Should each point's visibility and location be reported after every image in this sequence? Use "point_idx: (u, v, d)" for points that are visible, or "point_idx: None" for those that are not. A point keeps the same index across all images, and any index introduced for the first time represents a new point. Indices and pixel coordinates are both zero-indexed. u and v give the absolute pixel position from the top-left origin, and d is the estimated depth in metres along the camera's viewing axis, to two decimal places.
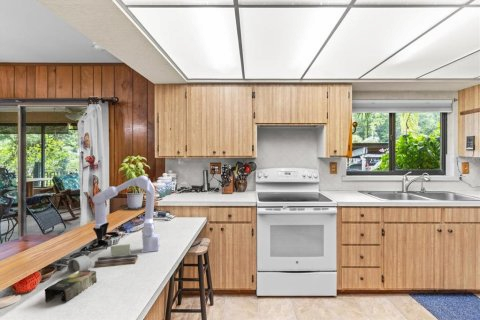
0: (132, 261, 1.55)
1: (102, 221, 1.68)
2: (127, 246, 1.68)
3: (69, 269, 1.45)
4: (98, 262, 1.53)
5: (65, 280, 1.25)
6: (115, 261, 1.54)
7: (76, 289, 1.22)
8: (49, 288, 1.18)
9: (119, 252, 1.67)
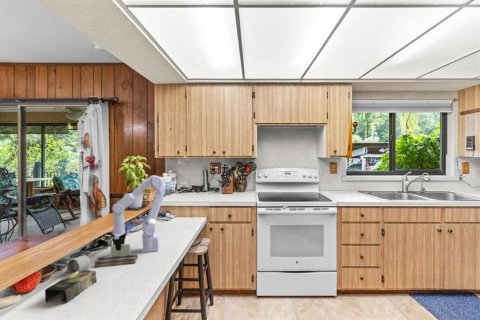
0: (132, 261, 1.55)
1: (121, 232, 1.66)
2: (127, 246, 1.68)
3: (69, 269, 1.45)
4: (98, 262, 1.53)
5: (65, 280, 1.25)
6: (115, 261, 1.54)
7: (77, 289, 1.22)
8: (49, 288, 1.17)
9: (119, 252, 1.67)
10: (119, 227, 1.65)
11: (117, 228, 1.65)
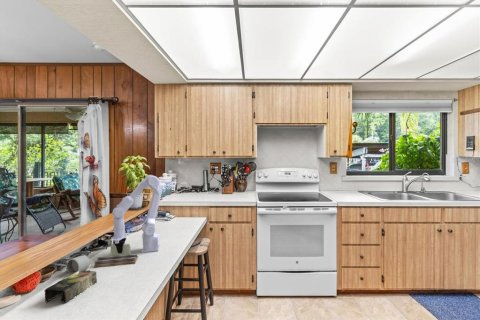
0: (132, 261, 1.55)
1: (121, 236, 1.66)
2: (127, 246, 1.68)
3: (68, 269, 1.45)
4: (98, 262, 1.53)
5: (65, 280, 1.25)
6: (115, 261, 1.54)
7: (76, 289, 1.21)
8: (49, 288, 1.17)
9: None
10: (119, 231, 1.65)
11: (117, 232, 1.65)
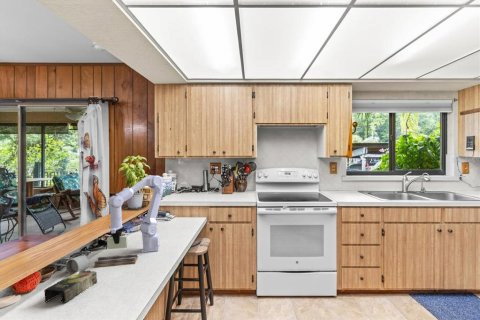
0: (132, 261, 1.55)
1: (118, 225, 1.59)
2: (124, 238, 1.62)
3: (67, 269, 1.45)
4: (98, 262, 1.53)
5: (65, 280, 1.25)
6: (115, 261, 1.54)
7: (76, 290, 1.21)
8: (49, 289, 1.17)
9: (116, 245, 1.61)
10: (116, 221, 1.59)
11: (114, 222, 1.59)
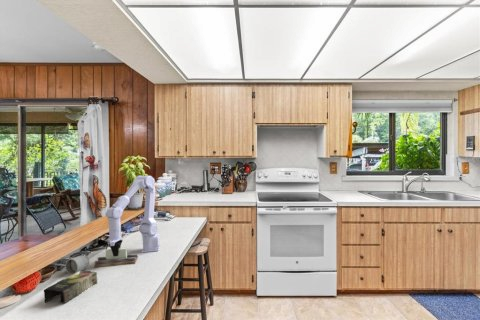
0: (132, 261, 1.55)
1: (117, 238, 1.55)
2: (123, 250, 1.57)
3: (67, 269, 1.45)
4: (98, 262, 1.53)
5: (65, 280, 1.25)
6: (115, 261, 1.54)
7: (75, 290, 1.21)
8: (48, 289, 1.17)
9: (115, 257, 1.56)
10: (115, 233, 1.54)
11: (113, 234, 1.54)
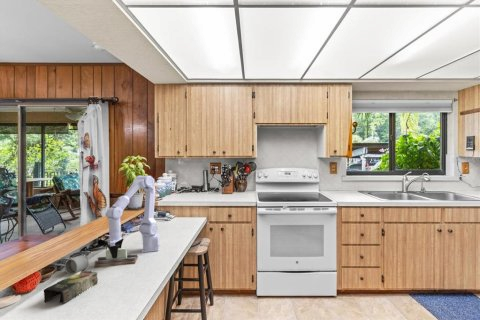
0: (132, 261, 1.55)
1: (117, 238, 1.55)
2: (123, 250, 1.57)
3: (66, 269, 1.45)
4: (98, 262, 1.53)
5: (65, 280, 1.25)
6: (115, 261, 1.54)
7: (75, 290, 1.21)
8: (48, 289, 1.17)
9: None
10: (115, 233, 1.54)
11: (113, 234, 1.54)
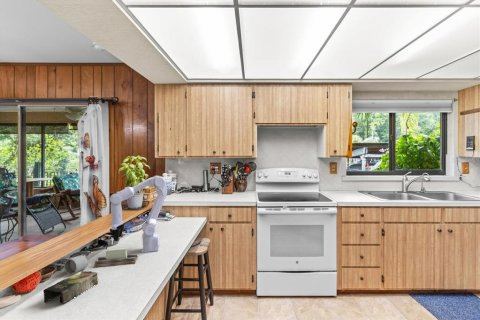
0: (132, 261, 1.55)
1: (118, 222, 1.65)
2: (123, 250, 1.57)
3: (66, 269, 1.45)
4: (98, 262, 1.53)
5: (65, 281, 1.24)
6: (115, 261, 1.54)
7: (75, 291, 1.20)
8: (48, 289, 1.17)
9: (115, 257, 1.56)
10: (117, 218, 1.65)
11: (115, 219, 1.65)
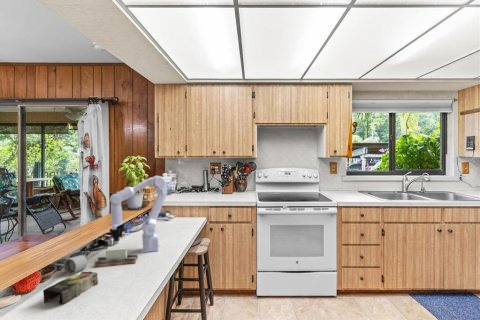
0: (132, 261, 1.55)
1: (118, 222, 1.65)
2: (123, 250, 1.57)
3: (65, 269, 1.45)
4: (98, 262, 1.53)
5: (65, 281, 1.24)
6: (115, 261, 1.54)
7: (75, 291, 1.20)
8: (47, 289, 1.17)
9: (115, 257, 1.56)
10: (117, 218, 1.65)
11: (115, 219, 1.65)
